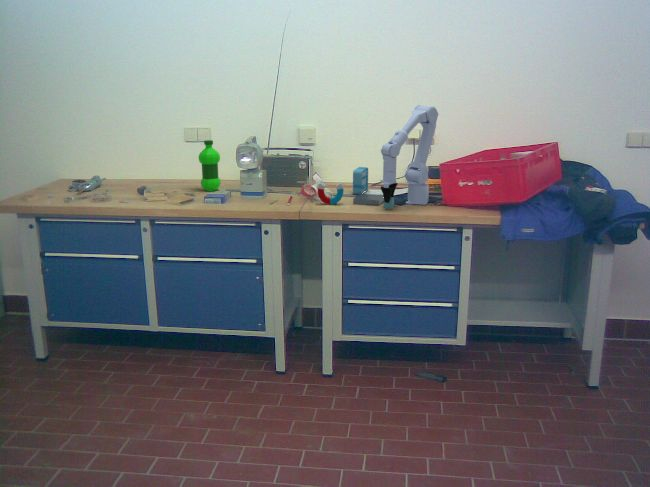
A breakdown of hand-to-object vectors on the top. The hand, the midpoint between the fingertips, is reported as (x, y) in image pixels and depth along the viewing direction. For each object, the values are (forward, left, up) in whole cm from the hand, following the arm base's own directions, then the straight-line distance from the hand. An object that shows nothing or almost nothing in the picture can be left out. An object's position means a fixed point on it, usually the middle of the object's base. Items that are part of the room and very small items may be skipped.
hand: (388, 200), depth 292 cm
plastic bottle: (+94, -12, -3) cm, 95 cm away
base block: (+11, -8, -3) cm, 14 cm away
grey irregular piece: (+159, +5, -4) cm, 159 cm away
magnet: (+27, +1, -3) cm, 27 cm away
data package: (+20, -28, -3) cm, 35 cm away
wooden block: (0, 0, -3) cm, 3 cm away
